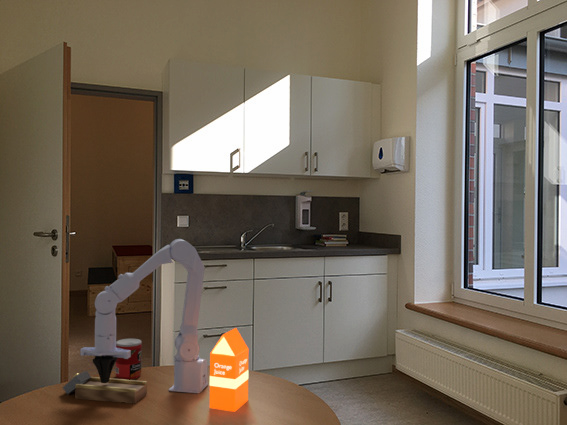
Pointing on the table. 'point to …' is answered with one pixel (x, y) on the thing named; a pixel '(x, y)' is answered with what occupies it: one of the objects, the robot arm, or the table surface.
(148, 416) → the table surface
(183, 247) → the robot arm
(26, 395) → the table surface
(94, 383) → the wooden channel tray
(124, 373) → the canned food
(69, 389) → the grey block with knob
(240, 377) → the orange juice
